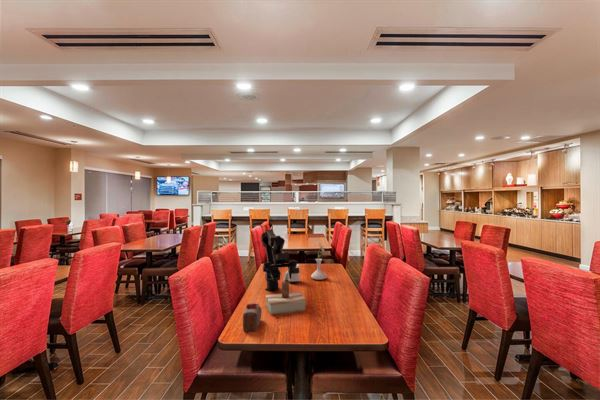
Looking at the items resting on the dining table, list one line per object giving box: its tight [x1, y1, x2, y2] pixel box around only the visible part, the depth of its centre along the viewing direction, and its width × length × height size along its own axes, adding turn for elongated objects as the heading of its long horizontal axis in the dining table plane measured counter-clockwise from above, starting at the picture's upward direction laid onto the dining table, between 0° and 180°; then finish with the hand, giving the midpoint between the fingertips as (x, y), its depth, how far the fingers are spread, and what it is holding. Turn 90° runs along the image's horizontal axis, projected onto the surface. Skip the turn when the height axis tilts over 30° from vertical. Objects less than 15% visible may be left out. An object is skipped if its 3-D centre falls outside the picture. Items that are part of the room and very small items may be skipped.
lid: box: [265, 281, 307, 305], centre depth 161 cm, size 13×19×9 cm
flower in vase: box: [310, 242, 328, 281], centre depth 219 cm, size 13×11×25 cm
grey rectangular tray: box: [265, 298, 306, 316], centre depth 161 cm, size 12×18×5 cm, turn 107°
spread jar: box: [283, 263, 301, 284], centre depth 211 cm, size 12×11×12 cm
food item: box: [242, 302, 263, 332], centre depth 141 cm, size 14×8×10 cm, turn 4°
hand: (282, 279), depth 168 cm, fingers open, 9 cm apart
